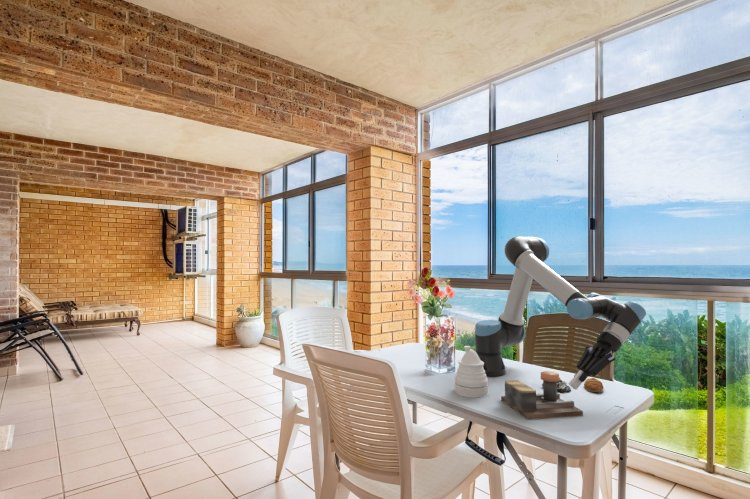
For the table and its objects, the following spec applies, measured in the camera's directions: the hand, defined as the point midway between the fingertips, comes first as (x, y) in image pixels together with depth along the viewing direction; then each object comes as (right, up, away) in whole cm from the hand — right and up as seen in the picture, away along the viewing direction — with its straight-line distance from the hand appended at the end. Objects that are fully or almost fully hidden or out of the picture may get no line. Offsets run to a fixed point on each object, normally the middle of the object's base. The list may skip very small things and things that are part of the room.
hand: (572, 386), depth 141 cm
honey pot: (-32, -8, +15) cm, 36 cm away
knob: (-8, -5, -1) cm, 10 cm away
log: (+3, -8, +20) cm, 21 cm away
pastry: (+18, -8, +18) cm, 27 cm away
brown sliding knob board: (-12, -7, -2) cm, 14 cm away
